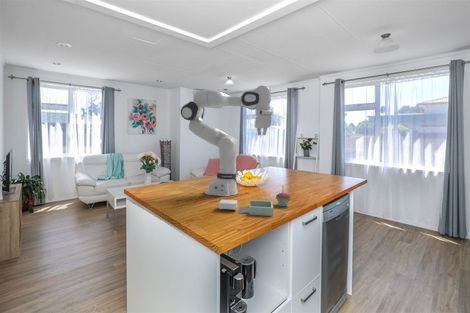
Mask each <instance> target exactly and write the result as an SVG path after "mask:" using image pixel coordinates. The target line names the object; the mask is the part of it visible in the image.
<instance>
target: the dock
mask: <svg viewBox="0 0 470 313" xmlns="http://www.w3.org/2000/svg"><path fill="white" fill-rule="evenodd" d="M249 203H250V204H249V205H247V206H246V205H245V206H239V208H238V210H237V214H244V215H245V214H246V215H249V216H268V217H274V204H273V203H274V202H273V200H257V199H250V202H249Z"/></svg>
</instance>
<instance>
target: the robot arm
mask: <svg viewBox="0 0 470 313" xmlns="http://www.w3.org/2000/svg"><path fill="white" fill-rule="evenodd" d="M271 101H272V93H271V89H270V88H269V87H268V86H265V85H259V86H258V87H256V88H254V89H252V90H248V91H245V92H243V94H241V96H233V95H229V94H227V93H225V92H222V91H220V90H215V89H205V90H197V91H196V92H195V93H194V95H193V101H192V100H191V101H188V103H186V104H184V105H183V106H182V107H181V108H180V115H181V117H182V118H183V119H184V120H187V121H189V123H188V130H189V131H190V132H191V133H193V134H194V135H195V136H197V137H198V138H200V139H202V140H204V141H205V142H207V143H209V144H210V145H213V146H215V147H217V148H218V156H219V171H218V172H217V173H216V178H215V179H214V180H212V181H211V182H210V183H209V184H208V186H207V187H208V189H206V190H205V191H204V194H205V195H209V196H210V195H211V196H220V197H229V196H236V195H237V194H238V193H239V192H238V187H237V177H238V174H237V159H236V158H237V157H236V149H237V148H238V141H237V138H235V137H233V136H232V135H230V134H228V133H226V132H224V131H222V130H221V129H219V128H217V127H216V126H213V125H212V124H209V123H208V122H206V121H205V120H203V118H204V114H205V108H222V107H244V108H246V109H249V110H251V111H252V110H255V116H256V117H255V119H254V120H255V121H254V128H255V129H256V131H257V136H261V135H262V136H267V131H268V128H271V124H272V116H273V112H274V111H272V110H271ZM262 129H263V130H262Z"/></svg>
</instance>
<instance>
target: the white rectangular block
mask: <svg viewBox="0 0 470 313" xmlns="http://www.w3.org/2000/svg"><path fill="white" fill-rule="evenodd" d="M237 209H238V200H236V199H235V200H234V199H220V200H219V202H218V210H219V211H222V210H233V212H236V211H237Z"/></svg>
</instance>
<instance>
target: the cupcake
mask: <svg viewBox="0 0 470 313" xmlns="http://www.w3.org/2000/svg"><path fill="white" fill-rule="evenodd" d="M281 187H282V190H281V191H282V192H279V193H277V194H276V195H275V196H276V197H275V199H276V201H277V203H278V206H280V207H287V206H288V203H289V201H291V198H292V197H291V195H290V194H288V193H286V192H285V191H284V188H285V187H284V184H282V186H281ZM286 205H287V206H286Z"/></svg>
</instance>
